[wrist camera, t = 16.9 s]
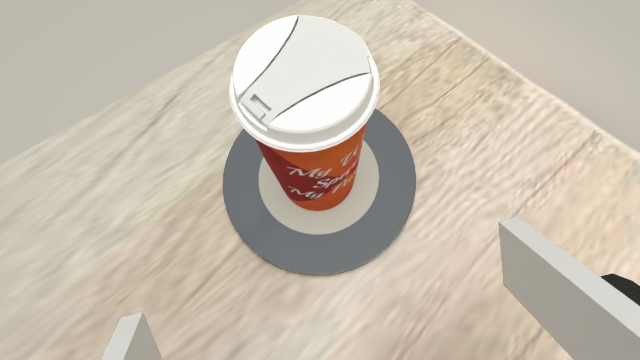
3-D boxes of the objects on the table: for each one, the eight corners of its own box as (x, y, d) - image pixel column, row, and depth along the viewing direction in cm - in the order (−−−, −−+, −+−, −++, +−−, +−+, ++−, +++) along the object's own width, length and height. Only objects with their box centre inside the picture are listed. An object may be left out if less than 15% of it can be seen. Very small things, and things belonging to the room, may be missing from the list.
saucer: (242, 296, 35) (238, 294, 34) (214, 121, 41) (210, 114, 40) (439, 249, 36) (442, 245, 35) (384, 83, 42) (385, 75, 41)
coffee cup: (316, 246, 35) (297, 172, 21) (248, 177, 38) (191, 70, 24) (389, 175, 37) (417, 65, 23) (320, 114, 39) (306, -19, 25)
